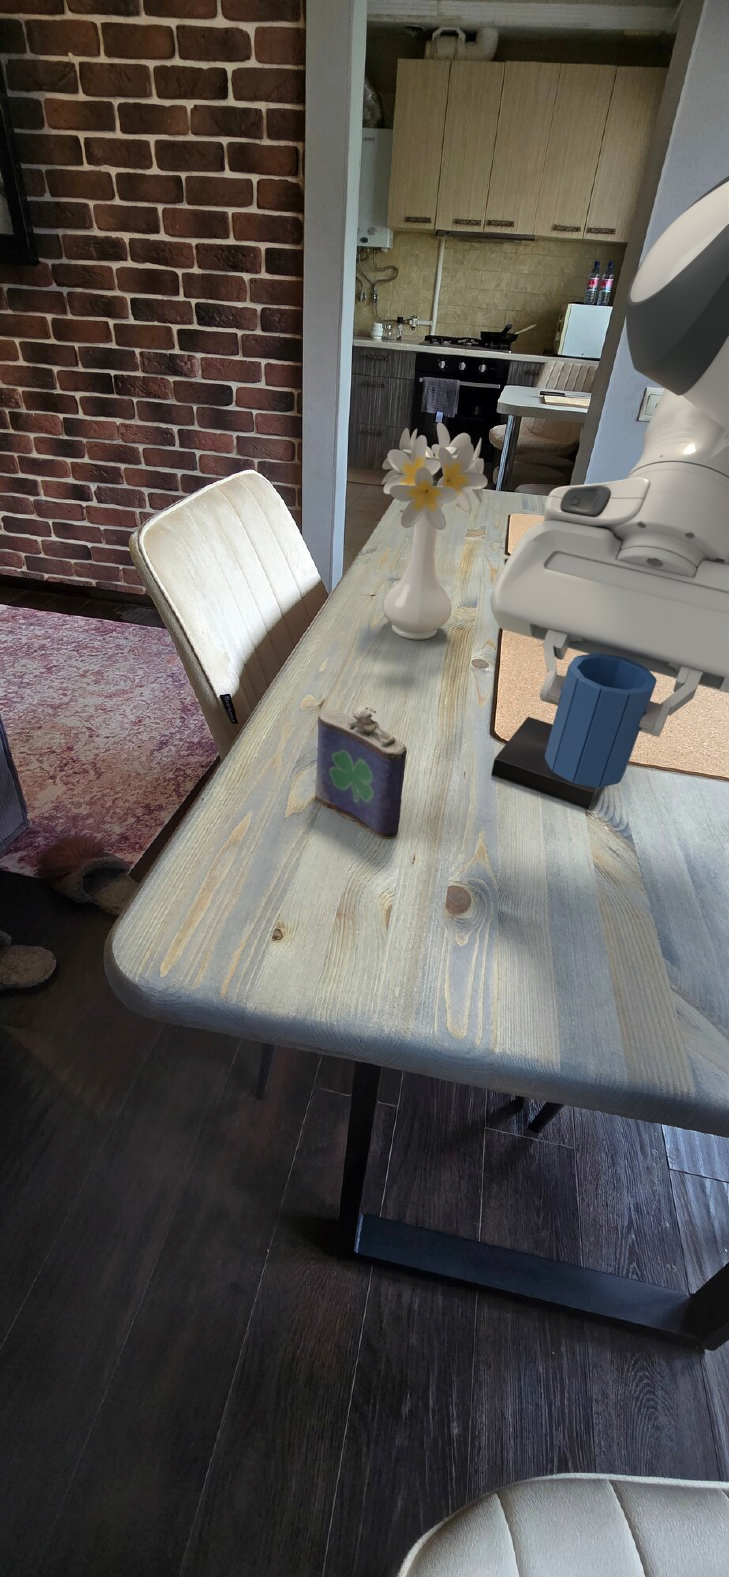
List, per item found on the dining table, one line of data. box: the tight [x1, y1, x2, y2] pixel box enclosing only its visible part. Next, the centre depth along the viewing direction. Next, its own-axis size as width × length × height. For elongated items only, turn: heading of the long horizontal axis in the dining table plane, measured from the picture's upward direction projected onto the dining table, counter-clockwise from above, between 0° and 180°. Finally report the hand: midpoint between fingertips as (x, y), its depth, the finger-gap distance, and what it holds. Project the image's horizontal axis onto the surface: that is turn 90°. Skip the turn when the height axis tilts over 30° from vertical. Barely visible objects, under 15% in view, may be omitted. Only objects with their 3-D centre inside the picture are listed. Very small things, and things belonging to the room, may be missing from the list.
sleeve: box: [545, 653, 658, 789], centre depth 52 cm, size 6×6×8 cm
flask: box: [314, 706, 408, 840], centre depth 64 cm, size 9×3×11 cm, turn 50°
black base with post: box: [491, 705, 601, 810], centre depth 73 cm, size 10×10×8 cm
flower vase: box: [381, 422, 488, 641], centre depth 93 cm, size 13×18×25 cm
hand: (597, 715), depth 51 cm, fingers closed on sleeve, 5 cm apart
